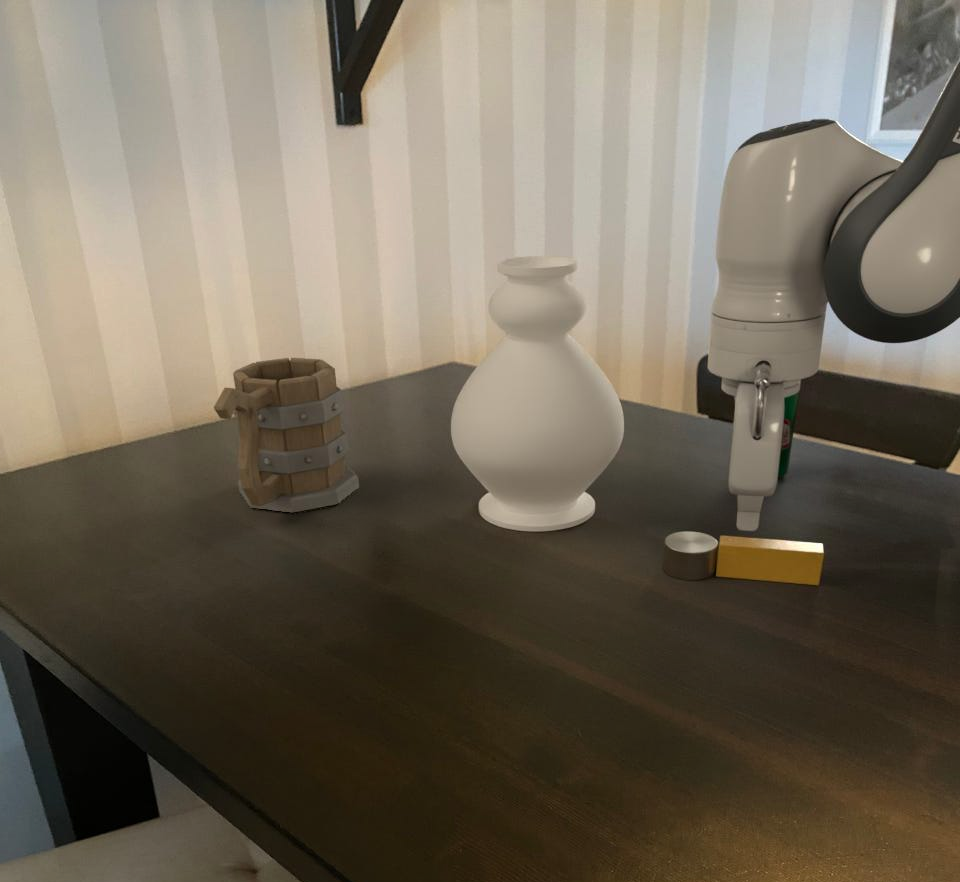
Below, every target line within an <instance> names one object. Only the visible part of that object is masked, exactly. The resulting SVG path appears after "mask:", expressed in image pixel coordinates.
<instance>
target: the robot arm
mask: <svg viewBox="0 0 960 882" xmlns="http://www.w3.org/2000/svg"><path fill="white" fill-rule="evenodd" d="M725 172H726V173H725V176H724V180H723V186H722V191H721V198H720V205H719V211H718V212H719V213H718V219H717V221H718V222H717V231H716V244H715V260H716V264H717V269H718V284H717V290H716V292H715V296H714V298H713V302H712V305H711V313H710V327H709V341H708V354H707V370H708V371H709V372H710V373H711V374H712V375H714V376H716V377H719V378H721V386H720V387H721V391H722V392H724V393H725V394H727V395H729V396H731V397H734V415H733V423H732V424H733V425H732V426H733V427H732V435H731V436H732V437H731V446H730V457H729V458H730V459H729V460H730V461H729V470H728V481H727V482H728V485H727V486H728V491H729V493H730V494H731V495H735V496H736V498H737V499H736V500H737V501H736V502H737V513H736V523H735V524H736V525H735V526H736V529H737V530H738V531H744V532H756V531H757V530H758V528H759V526H760V517H761V516H760V515H761V510H762V506H763V502H764V498H765V497H771V496H773V495H774V494H775V492H776V490H777V485H778V480H779V479H778V470H779V461H780V452H781V442H782V433H783V423H784V410H785V404H784V398H786V397H790V396H792V395H795V394H796V393H798V392H799V393H800V391H799V390H801V385H800V384H801V383H802V380H804V379H808V378H810V377H812V376H814V375H815V374H817V372H818V371H819V368H820V360H821V354H822V353H821V352H822V346H823V337H824V329H825V322H826V321H825V320H826V315H827V307H828V304H829V307H830V308H831V310H832V312H833V313H834V315H835V316H836V318H837V319H838V321H840V322H841V324H842V325H844V327H846V328H847V329H849V330H850V331H851V332H853V333H854V334H856V335H858V336H860V337H862V338H864V339H866V340H869V341H874V342H877V343H883V344H904V343H910V342H911V343H912V342H915V341H919V340H923V339H926V338H928V337H931V336H934V335H935V334H938V333H940V332H941V331H943V330H945V329H946V328H948V327H950V326H951V325H952V324H954V323H955V322H957V320H959V318H960V57H959V58H958V61H957V62H956V64H955V66H954V68H953V70H952V71H951V73H950V75H949V78H948V79H947V82H946V83H945V86H944V87H943V89H942V91H941V93H940V95H939V97H938V99H937V100H936V102H935V105H934V106H933V109H932V111H931V112H930V115H929V116H928V119H927V120H926V122H925V124H924V125H923V128H922V129H921V132H920V133H919V135H918V137H917V139H916V141H915V143H914V145H913V146H912V148H911V149H910V151H909V153H908V155H907V156H906V157H905V158H904V160H900V159H897V158H896V157H895V158H894V157H892V156H890V155H888V154H886V153H883V152H882V151H879V150H877V149H875V148H873V146H870V145H868V144H867V143H865V142H863V141H862V140H859V139H858V138H857V137H855V136H853V135H852V133H851V134H850V133H849V132H848V131H847V130H846V129H845V128H843V127H842V125H841V124H840V123H839V122H838V121H837V120H834V119H830V118H813V119H811V120H806V121H805V120H803V121H799V122H795V123H790V124H786V125H782V126H778V127H774V128H770V129H768V130H765V131H761V132H758V133H756V134H754V135H752V136H750V137H749V138H748V139H746V140H745V141H744V142H743V143H742V144H741V145H740V146H738V148H737V150H736V151H735V152H734V153H733V154H732V156H731V158H730V160H729V162H728V165H727V168H726V171H725ZM800 381H801V382H800ZM777 479H778V480H777Z"/></svg>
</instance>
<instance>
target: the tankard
mask: <svg viewBox="0 0 960 882" xmlns="http://www.w3.org/2000/svg"><path fill="white" fill-rule="evenodd" d="M232 375H233V382H234V387H224V388H223V389H222V392H221V393H220V395H219V397H218V398H217V400H216V402H215V404H214V405H213V410H214V411H215V413H216V414H217V415H218V417H219V419H221V420H222V419H224V420H230V419H231V418H232V417H233V416H234V417H235V418H236V419H237V421H236V422H237V429H238V438H237V445H238V456H237V470H238V476H239V479H238V480H237V485H238V490H239V493H240V495H241V494H242V495H241V496H242V498H243V497H244V498H243V499H244V501H245V500H246V501H245V502H246V504H247V505H248V506H249V508H250V509H252V508H258V509H268V510H274V511H282V512H292V513H293V512H298V511H303V510H308V509H313V508H316V507H323V506H328V505H334V504H337V503H339V504H341V501H342V500H343V499H344V500H346V499H347V498H348V497H349V496H351V495H352V494H353V493H354V492H356V491H357V490H358V489H359V488H360V481H359V476H358V475H357V474H356V473H355V472H354V471H353V470H352V469H351V468H350V467H349V466H348V465H347V464H346V463H345V457H346V456H347V455H349V454H350V447H349V437H348V435H349V434H347V433H346V432H345V431H344V430H343V429H342V425H341V416H340V415H341V414H342V413H344V412H345V411H346V406H345V395H344V391H343V390H342V389H341V388H340V387H338V385H337V377H336V369H335V367H333V366H332V365H330V364H329V363H328V362H326V361H325V360H324V359H319V358H318V359H317V358H303V357H290V358H289V357H282V358H276V359H275V358H274V359H267V360H260V361H255V362H252V363H249V364H247V365H245V366H242V367H240V368H238V369H236V370H234V372H233V373H232ZM356 489H357V490H356ZM355 490H356V491H355ZM353 491H354V492H353ZM352 492H353V493H352ZM351 493H352V494H351ZM350 494H351V495H350ZM348 495H349V496H348ZM347 496H348V497H347ZM346 497H347V498H346ZM345 498H346V499H345ZM344 500H343V501H344ZM343 501H342V502H343ZM258 509H257V510H258ZM274 511H273V512H274ZM282 512H281V513H282Z"/></svg>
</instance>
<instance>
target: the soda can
mask: <svg viewBox="0 0 960 882" xmlns="http://www.w3.org/2000/svg"><path fill="white" fill-rule="evenodd" d="M800 382H801V383H802V380H801V381H800ZM800 386H801V384H800ZM800 390H801V389H800ZM800 390H799V392H798V393H796V394H795V395H792V396H790V397H786V398H784V404H785V410H784V423H783V433H782V442H781V452H780V461H779V470H778V479H777V481H778V480H781V479H782V478H783V477H785V476H786V475H787V474H788V472H789V468H790V467H789V466H790V459H791V453H792V445H793V439H794V433H795V426H796V418H797V413H798V412H797V411H798V404H799V399H800V392H801V391H800Z"/></svg>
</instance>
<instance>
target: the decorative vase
mask: <svg viewBox="0 0 960 882" xmlns="http://www.w3.org/2000/svg"><path fill="white" fill-rule="evenodd" d="M577 270H578V259H576V258H573V257H567V256H559V255H527V256H517V257H516V256H515V257H509V258H504V259H501V260H499V261H497V271H498V273H499V274H501V275H504V276H505V277H507V280H506V281H505V282H504V283H503V284H502V285H500V286H499V287H498V288H497V289H496V290H495V291H494V292H493V294H492V295H491V297H490V299H489V301H488V302H489V303H488V313H489V316H490V318H491V320H492V321H493V322H494V324H496V326H497V327H499V328H500V330H502V331H503V332H504V333H505V336H503V338H501V340H500V341H499V342H498V343H497V344H496V345H495V346H494V347H493V348H492V349H491V350H490V351H489V352H488V353H487V355H486V356H484V358H483V359H482V360H481V361H480V362H479V364H478V365H477V366H476V367H475V369H473V371H472V372H471V374H470V375H469V377H468V378H467V380H466V382H465V383H464V384H463V387H462V388H461V389H460V392H459V393H458V395H457V398H456V400H455V402H454V405H453V408H452V412H451V419H450V436H451V441H452V445H453V448H454V450H455V452H456V455H458V457H459V459H460V460H461V461H462V463H463V464H464V466H465V467H466V468H467V469H468V471H470V473H471V474H472V475H473V476H474V477H475V479H476V480H477V481H478V482H479V483H480V484H481V485H482V486H483V487H484V488H485V490H486V491H487V493H486V494H484V495H483V496H482V497H481V498H480V499H479V501H478V513H479V515H480V516H481V518H482V519H484V520H485V521H486V522H488V523H489V524H491V525H494V526H497V527H500V528H503V529H506V530H511V531H512V530H513V531H518V532H519V531H520V532H536V533H537V532H553V531H559V530H560V531H561V530H565V529H569V528H572V527H576V526H578V525H581V524H583V523H585V522H586V521H588V520H589V519H591V518H592V517H593V516H594V514H595V513H596V512H595V511H596V501H595V499H594V498H593V496H592V495H590V494H589V493H588V492H586V491H587V490H588V489H589V488H590V486H592V484H593V483H594V482H595V481H596V480H597V479H598V478H599V476H601V474H602V473H603V472H604V471H605V470H606V468H607V467H608V466H609V465H610V463H611V462H612V461H613V460H614V458H615V456H616V455H617V453H618V452H619V449H620V447H621V445H622V442H623V438H624V432H625V418H624V411H623V407H622V404H621V401H620V397H619V396H618V394H617V392H616V390H615V388H614V386H613V385H612V383H611V382H610V380H609V379H608V377H607V375H606V373H604V371H603V369H602V368H601V367H600V366H599V364H597V362H596V361H595V360H594V359H593V358H592V356H591V355H590V354H589V353H588V352H587V351H586V350H585V349H584V348H583V347H582V346H581V345H580V343H578V342H577V341H576V340H575V339H574V338H573V337H572V336H571V334H570V331H572V329H574V328H575V327H576V326H577V325H578V324H579V322H580V321H581V320H583V317H584V316H585V314H586V311H587V301H586V297H585V295H584V294H583V292H582V291H581V289H580V288H579V287H578V286H576V285H575V284H574V283H572V282H571V281H570V280H569V279H568V276H569V275H571V274H573V273H575V272H576V271H577Z"/></svg>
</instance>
